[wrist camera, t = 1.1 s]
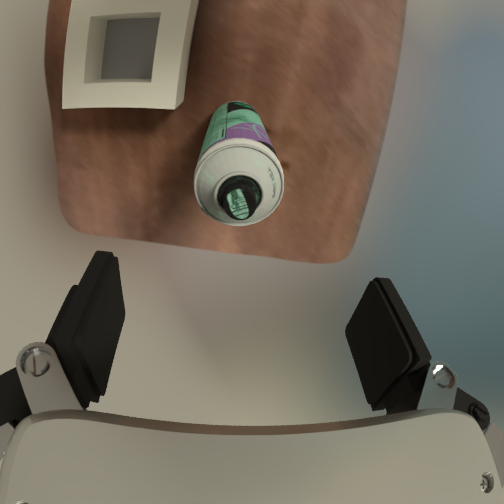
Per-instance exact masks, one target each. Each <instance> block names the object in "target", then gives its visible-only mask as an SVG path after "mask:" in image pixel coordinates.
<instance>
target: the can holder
mask: <svg viewBox="0 0 504 504" xmlns="http://www.w3.org/2000/svg"><path fill="white" fill-rule="evenodd" d="M198 5H199V0H72V2H71V8H70V14H69V21H68V28H67V36H66V45H65V55H64V68H63V88H62V109H70V108H100V107H126V108H157V109H174V110H175V109H176V108H177V107H178V106H179V105H180V104H181V103H182V102H183V101H184V92H185V85H186V77H187V70H188V63H189V56H190V50H191V44H192V38H193V32H194V26H195V21H196V15H197V10H198Z"/></svg>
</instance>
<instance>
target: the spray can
mask: <svg viewBox="0 0 504 504" xmlns="http://www.w3.org/2000/svg"><path fill="white" fill-rule="evenodd" d="M194 192H195V196H196V199H197V202H198V204H199V205H200V207H201V209H202V210H203V211H204V212H205V213H206V214H207V215H208V216H209V217H211V218H212V219H214V220H216V221H217V222H219V223H222V224H225V225H230V226H246V225H252V224H254V223H257V222H260V221H261V220H263V219H265V218H266V217H268V216H269V215H270V214H271V213H272V212H273V211H274V210H275V209H276V207H277V206H278V204H279V203H280V201H281V199H282V195H283V192H284V176H283V170H282V167H281V165H280V162H279V160H278V157H277V155H276V153H275V151H274V148H273V146H272V144H271V142H270V139H269V137H268V135H267V133H266V131H265V128H264V126H263V124H262V122H261V120H260V117H259V115H258V113H257V112H256V110H255V109H254V108H253V107H252V106H250V105H249V104H247V103H245V102H241V101H230V102H227V103H224V104H222V105H221V106H219V107H218V108H217V109H216V110H215V112H214V113H213V115H212V118H211V121H210V124H209V127H208V130H207V133H206V136H205V139H204V142H203V146H202V149H201V152H200V156H199V159H198V162H197V166H196V169H195V173H194Z"/></svg>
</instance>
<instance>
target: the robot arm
mask: <svg viewBox="0 0 504 504" xmlns="http://www.w3.org/2000/svg"><path fill="white" fill-rule="evenodd" d="M124 319H125V307H124V301H123V294H122V287H121V280H120V271H119V263H118V258H117V257H114V256H113V253H112V252H106V251H96V252H95V254H94V256H93V258H92V260H91V262H90V263H89V265H88V267H87V269H86V271H85V273H84V275H83V277H82V279H81V281H80V283H79V285H73V286H72V287H71V289H70V291H69V293H68V295H67V297H66V299H65V301H64V303H63V305H62V307H61V309H60V311H59V313H58V316H57V318H56V320H55V322H54V324H53V326H52V328H51V331H50V333H49V335H48V338H47V340H46V342H45V343H42V342H35V343H31V344H29V345H27V346H25V347H24V348H23V349H22V350H21V351H20V353H19V354H18V356H17V360H16V367H15V368H13V369H11V370H9V371H7V372H5V373H4V374H2V375H0V460H1V459H2V458H3V457H4V458H3V462H2V465H1V470H0V504H504V495H503V491H502V488H503V486H504V434H503V433H502V432H501V430H500V429H499V428H498V427H497V426H496V425H495V424H494V423H493V422H491V423H490V416H489V412H488V410H487V408H486V407H485V405H484V404H482V403H481V402H480V401H478V400H477V399H475V398H473V397H472V396H470V395H469V394H467V393H466V392H464V391H463V390H461V389H459V388H458V387H457V385H458V383H457V381H458V380H457V376H456V374H455V372H454V370H453V369H452V368H451V367H450V366H448V365H447V364H445V363H443V362H434V363H432V364H430V362H429V361H430V360H431V355H430V353H429V351H428V349H427V347H426V345H425V343H424V341H423V339H422V337H421V335H420V333H419V331H418V329H417V327H416V325H415V323H414V321H413V320H412V318H411V316H410V314H409V312H408V310H407V308H406V306H405V305H404V303H403V301H402V299H401V298H400V296H399V294H398V292H397V290H396V289H395V287H394V285H393V283H392V282H391V280H390V279H388V278H378V277H377V278H374V279H373V281H370V282H369V284H368V286H367V288H366V290H365V292H364V294H363V297H362V298H361V300H360V302H359V304H358V306H357V308H356V309H355V311H354V313H353V315H352V317H351V319H350V321H349V323H348V324H347V326H346V330H345V333H346V338H347V341H348V344H349V347H350V350H351V353H352V356H353V359H354V362H355V365H356V368H357V371H358V374H359V377H360V380H361V383H362V387H363V390H364V393H365V397H366V400H367V402H368V404H371V407H372V411H376V410H383V409H385V408H386V411H387V413H386V415H384V416H378V417H371V418H364V419H357V420H348V421H339V422H329V423H318V424H303V425H281V426H227V425H206V424H191V423H179V422H170V421H160V420H152V419H144V418H136V417H129V416H122V415H116V414H110V413H102V412H96V411H87V410H86V408H87V407H89V403H90V401H92V402H96V403H98V402H99V398H100V395H101V396H104V395H105V392H106V388H107V383H108V379H109V375H110V371H111V367H112V363H113V359H114V355H115V351H116V348H117V344H118V341H119V337H120V333H121V330H122V326H123V323H124ZM5 450H6V451H5ZM4 451H5V455H3V452H4Z"/></svg>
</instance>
